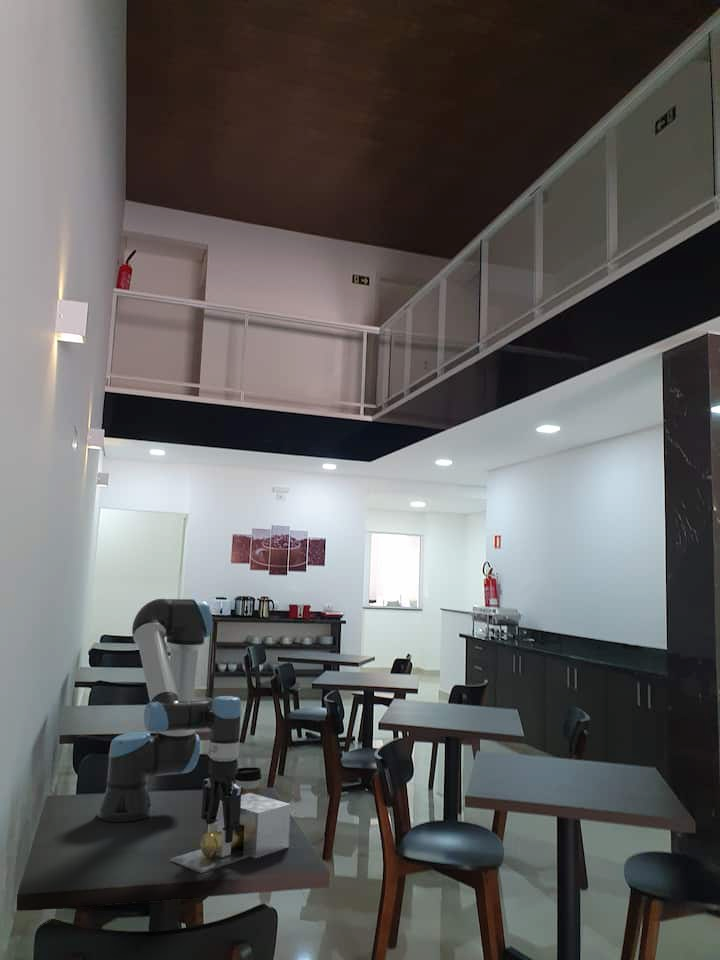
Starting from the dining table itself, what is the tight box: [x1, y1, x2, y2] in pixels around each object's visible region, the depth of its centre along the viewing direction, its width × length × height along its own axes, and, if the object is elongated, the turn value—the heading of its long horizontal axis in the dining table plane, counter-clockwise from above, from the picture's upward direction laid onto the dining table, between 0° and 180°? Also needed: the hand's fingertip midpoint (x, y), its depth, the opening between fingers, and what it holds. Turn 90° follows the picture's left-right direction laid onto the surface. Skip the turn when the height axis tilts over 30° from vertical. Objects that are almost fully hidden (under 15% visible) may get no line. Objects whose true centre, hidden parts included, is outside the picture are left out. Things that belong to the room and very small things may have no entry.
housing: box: [170, 793, 291, 874], centre depth 193 cm, size 16×28×11 cm, turn 141°
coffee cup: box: [235, 766, 262, 795], centre depth 220 cm, size 8×8×15 cm
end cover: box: [199, 825, 245, 858], centre depth 192 cm, size 6×14×6 cm, turn 141°
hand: (218, 852), depth 190 cm, fingers closed on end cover, 5 cm apart
